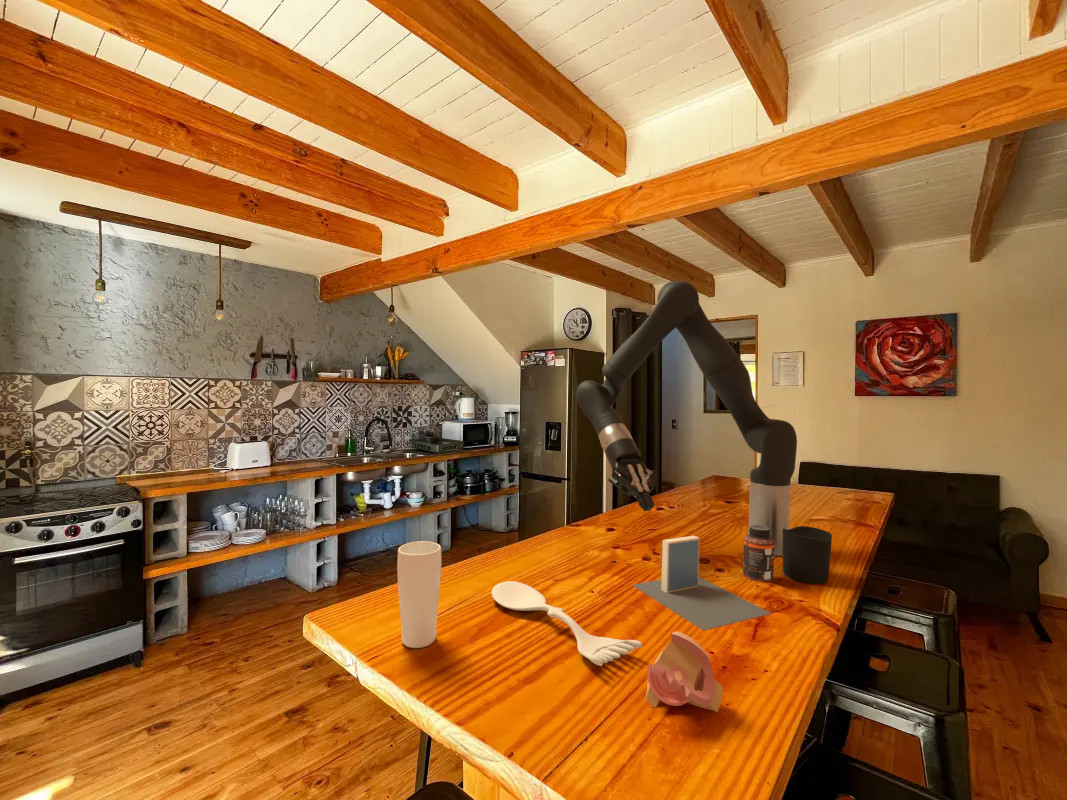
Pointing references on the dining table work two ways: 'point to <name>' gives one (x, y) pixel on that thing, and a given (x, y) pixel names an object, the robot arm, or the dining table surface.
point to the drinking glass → (419, 591)
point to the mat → (704, 604)
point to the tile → (680, 563)
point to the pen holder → (806, 554)
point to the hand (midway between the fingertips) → (649, 509)
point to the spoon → (588, 645)
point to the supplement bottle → (758, 554)
